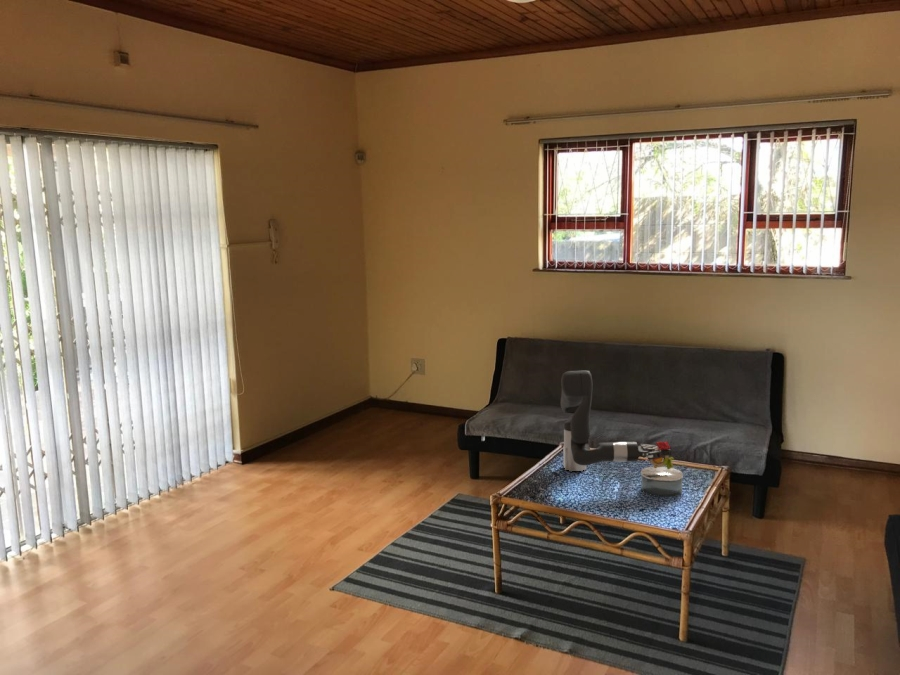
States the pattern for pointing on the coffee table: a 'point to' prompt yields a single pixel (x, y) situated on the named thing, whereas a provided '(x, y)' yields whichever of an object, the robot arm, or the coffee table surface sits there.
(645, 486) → the biscuit tin
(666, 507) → the coffee table surface
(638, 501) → the coffee table surface
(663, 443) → the bird rattle
